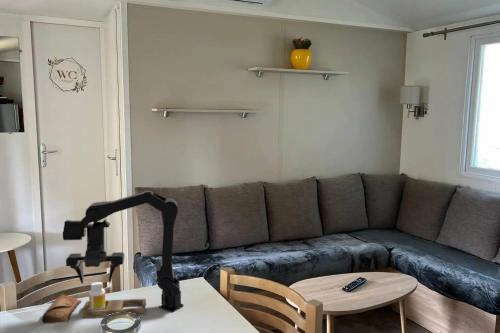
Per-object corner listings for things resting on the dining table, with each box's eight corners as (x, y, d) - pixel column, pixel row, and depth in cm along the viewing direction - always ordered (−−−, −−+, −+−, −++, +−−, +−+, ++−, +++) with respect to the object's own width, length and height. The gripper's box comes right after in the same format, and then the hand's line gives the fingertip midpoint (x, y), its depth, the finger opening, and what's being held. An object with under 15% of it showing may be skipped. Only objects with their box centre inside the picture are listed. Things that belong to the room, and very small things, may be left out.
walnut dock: (145, 303, 163) (145, 298, 162) (144, 314, 154) (144, 308, 154) (86, 306, 159) (86, 301, 159) (81, 317, 150) (81, 312, 150)
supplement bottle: (108, 308, 157) (108, 282, 156) (98, 314, 152) (98, 287, 151) (96, 306, 159) (95, 280, 158) (86, 312, 154) (85, 285, 153)
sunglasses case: (68, 322, 147) (57, 305, 146) (50, 333, 146) (38, 317, 145) (82, 300, 164) (72, 285, 163) (66, 309, 164) (56, 295, 163)
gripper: (61, 246, 143) (62, 292, 145) (120, 245, 146) (120, 290, 148) (69, 237, 154) (70, 280, 156) (124, 236, 157) (124, 278, 159)
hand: (96, 282), depth 154 cm, fingers open, 9 cm apart
